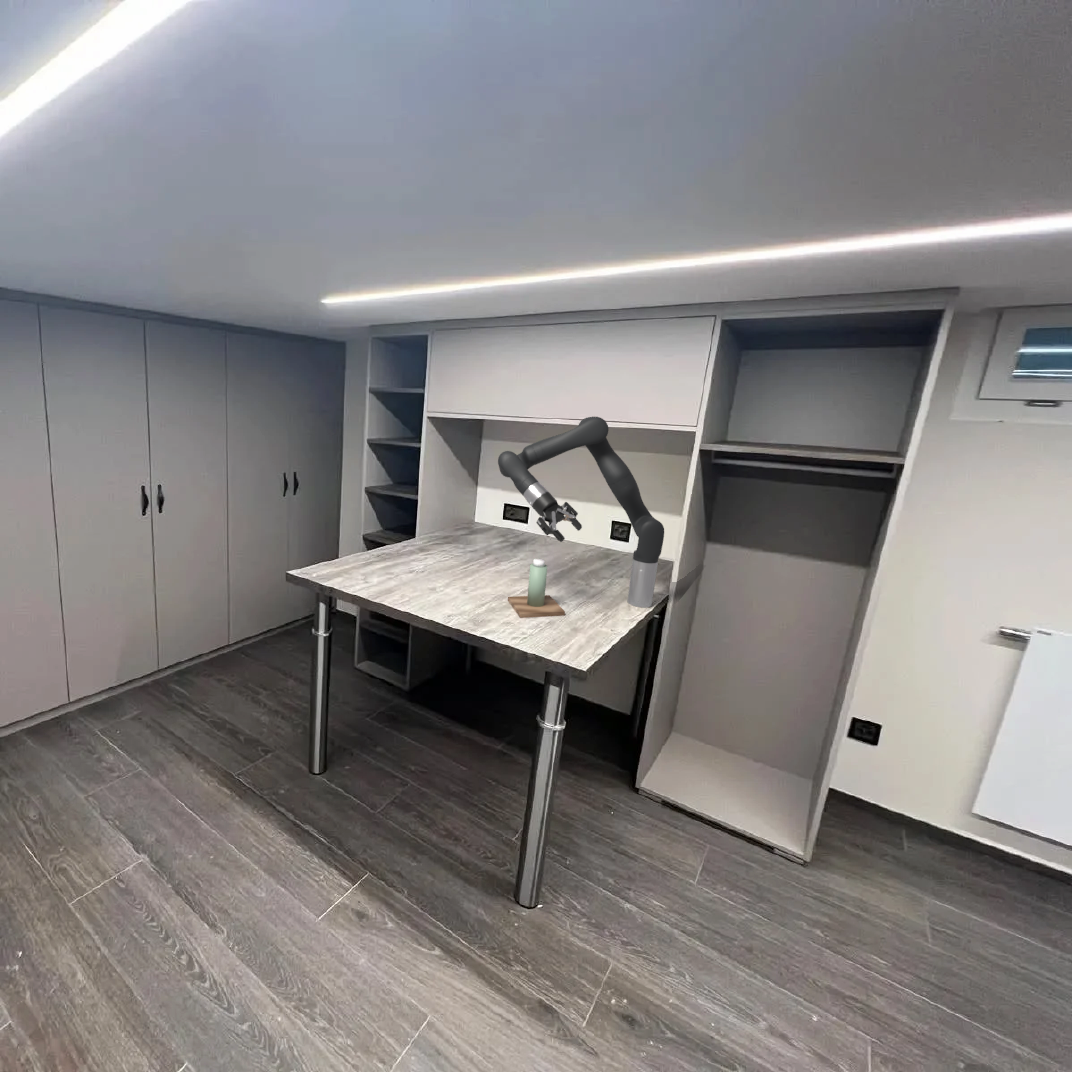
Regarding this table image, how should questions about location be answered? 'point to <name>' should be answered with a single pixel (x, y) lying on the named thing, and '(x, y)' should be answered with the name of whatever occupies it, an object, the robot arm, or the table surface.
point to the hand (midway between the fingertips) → (571, 534)
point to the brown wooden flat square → (529, 611)
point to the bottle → (537, 583)
